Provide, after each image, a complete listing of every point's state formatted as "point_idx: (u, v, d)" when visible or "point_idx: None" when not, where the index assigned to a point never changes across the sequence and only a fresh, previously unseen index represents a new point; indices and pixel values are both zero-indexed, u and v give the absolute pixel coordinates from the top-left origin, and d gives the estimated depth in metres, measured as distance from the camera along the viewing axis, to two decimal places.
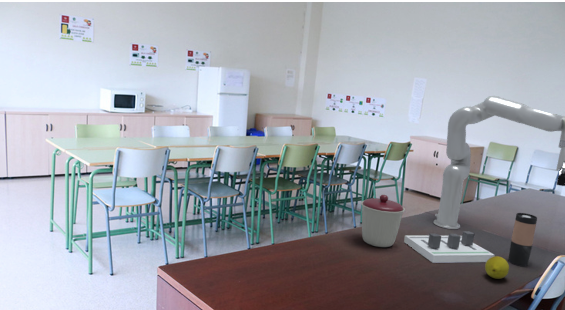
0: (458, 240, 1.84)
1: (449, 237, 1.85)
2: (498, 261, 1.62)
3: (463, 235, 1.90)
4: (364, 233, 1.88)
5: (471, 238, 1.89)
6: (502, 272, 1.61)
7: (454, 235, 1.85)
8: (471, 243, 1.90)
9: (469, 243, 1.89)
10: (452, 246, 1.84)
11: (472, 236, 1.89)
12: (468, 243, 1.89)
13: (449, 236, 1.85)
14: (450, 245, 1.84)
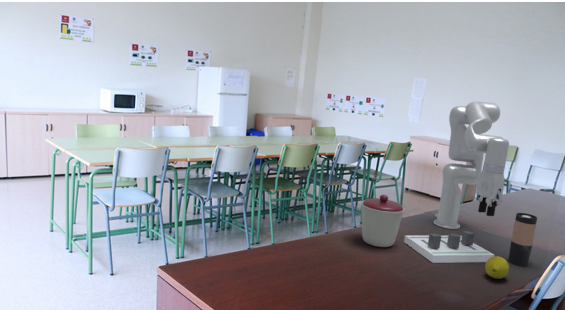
0: (458, 240, 1.84)
1: (449, 237, 1.85)
2: (498, 261, 1.62)
3: (463, 235, 1.90)
4: (364, 233, 1.88)
5: (471, 238, 1.89)
6: (502, 272, 1.61)
7: (454, 235, 1.85)
8: (471, 243, 1.90)
9: (469, 243, 1.89)
10: (452, 246, 1.84)
11: (472, 236, 1.89)
12: (468, 243, 1.89)
13: (449, 236, 1.85)
14: (450, 245, 1.84)
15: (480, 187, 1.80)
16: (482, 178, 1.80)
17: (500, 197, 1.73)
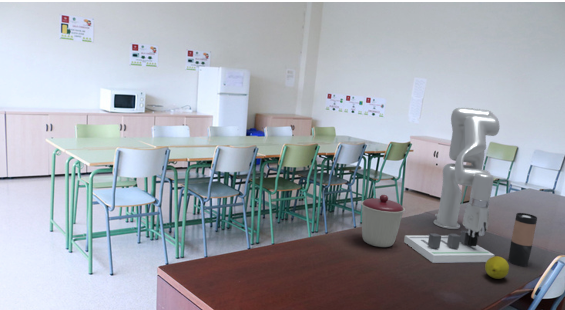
0: (458, 240, 1.84)
1: (449, 237, 1.85)
2: (498, 261, 1.62)
3: (461, 234, 1.92)
4: (364, 233, 1.88)
5: None
6: (502, 272, 1.61)
7: (454, 235, 1.85)
8: None
9: (467, 242, 1.90)
10: (452, 246, 1.84)
11: None
12: (467, 242, 1.90)
13: (449, 236, 1.85)
14: (450, 245, 1.84)
15: (466, 219, 1.88)
16: (468, 211, 1.87)
17: (483, 231, 1.82)
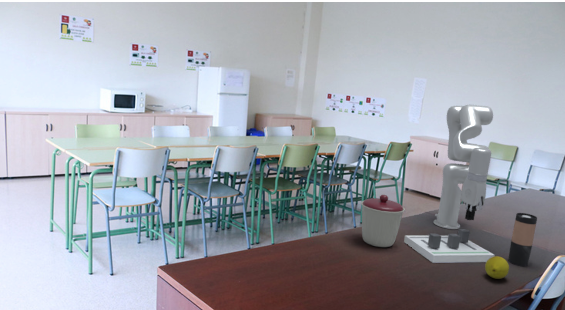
0: (458, 240, 1.84)
1: (449, 237, 1.85)
2: (498, 261, 1.62)
3: (459, 232, 1.93)
4: (364, 233, 1.88)
5: (466, 235, 1.92)
6: (502, 272, 1.61)
7: (454, 235, 1.85)
8: (466, 240, 1.92)
9: (464, 240, 1.92)
10: (452, 246, 1.84)
11: (467, 233, 1.92)
12: (464, 241, 1.92)
13: (449, 236, 1.85)
14: (450, 245, 1.84)
15: (464, 194, 1.90)
16: (466, 186, 1.89)
17: (480, 205, 1.84)
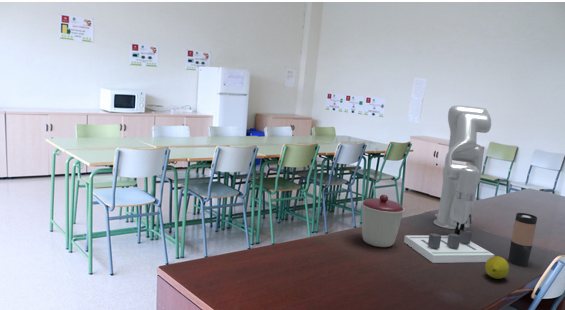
0: (458, 240, 1.84)
1: (449, 237, 1.85)
2: (498, 261, 1.62)
3: (460, 234, 1.92)
4: (364, 233, 1.88)
5: (468, 236, 1.91)
6: (502, 272, 1.61)
7: (454, 235, 1.85)
8: (468, 241, 1.91)
9: (466, 241, 1.91)
10: (452, 246, 1.84)
11: (469, 234, 1.91)
12: (466, 242, 1.91)
13: (449, 236, 1.85)
14: (450, 245, 1.84)
15: (453, 212, 1.96)
16: (454, 204, 1.95)
17: (468, 223, 1.90)
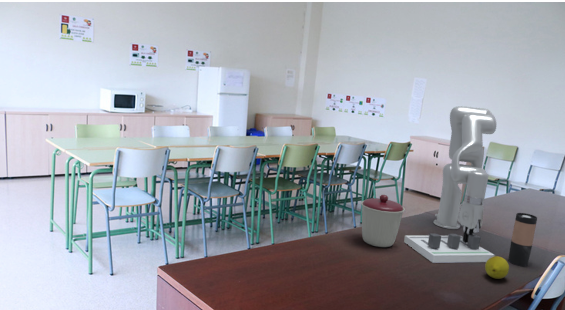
0: (458, 240, 1.84)
1: (449, 237, 1.85)
2: (498, 261, 1.62)
3: (469, 238, 1.87)
4: (364, 233, 1.88)
5: (477, 241, 1.85)
6: (502, 272, 1.61)
7: (454, 235, 1.85)
8: (477, 247, 1.86)
9: (475, 247, 1.85)
10: (452, 246, 1.84)
11: (478, 239, 1.85)
12: (475, 247, 1.85)
13: (449, 236, 1.85)
14: (450, 245, 1.84)
15: (461, 216, 1.90)
16: (463, 208, 1.90)
17: (477, 228, 1.85)
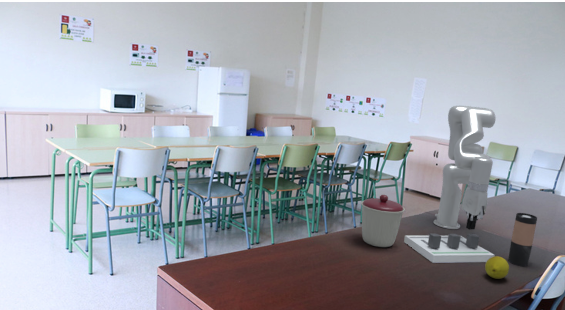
0: (458, 240, 1.84)
1: (449, 237, 1.85)
2: (498, 261, 1.62)
3: (468, 238, 1.88)
4: (364, 233, 1.88)
5: (476, 241, 1.86)
6: (502, 272, 1.61)
7: (454, 235, 1.85)
8: (476, 246, 1.87)
9: (474, 246, 1.86)
10: (452, 246, 1.84)
11: (477, 239, 1.86)
12: (473, 246, 1.86)
13: (449, 236, 1.85)
14: (450, 245, 1.84)
15: (465, 203, 1.89)
16: (467, 195, 1.88)
17: (481, 215, 1.83)
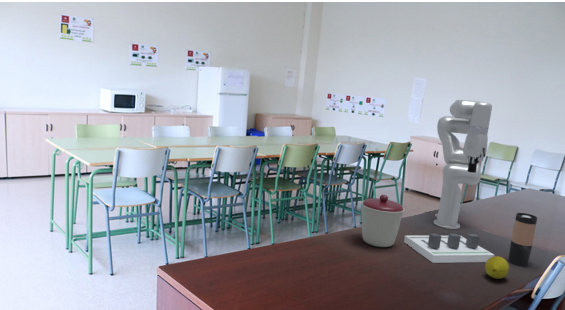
0: (458, 240, 1.84)
1: (449, 237, 1.85)
2: (498, 261, 1.62)
3: (468, 238, 1.88)
4: (364, 233, 1.88)
5: (476, 241, 1.86)
6: (502, 272, 1.61)
7: (454, 235, 1.85)
8: (476, 246, 1.87)
9: (474, 246, 1.86)
10: (452, 246, 1.84)
11: (477, 239, 1.86)
12: (473, 246, 1.86)
13: (449, 236, 1.85)
14: (450, 245, 1.84)
15: (466, 147, 1.99)
16: (468, 140, 1.98)
17: (482, 156, 1.93)
